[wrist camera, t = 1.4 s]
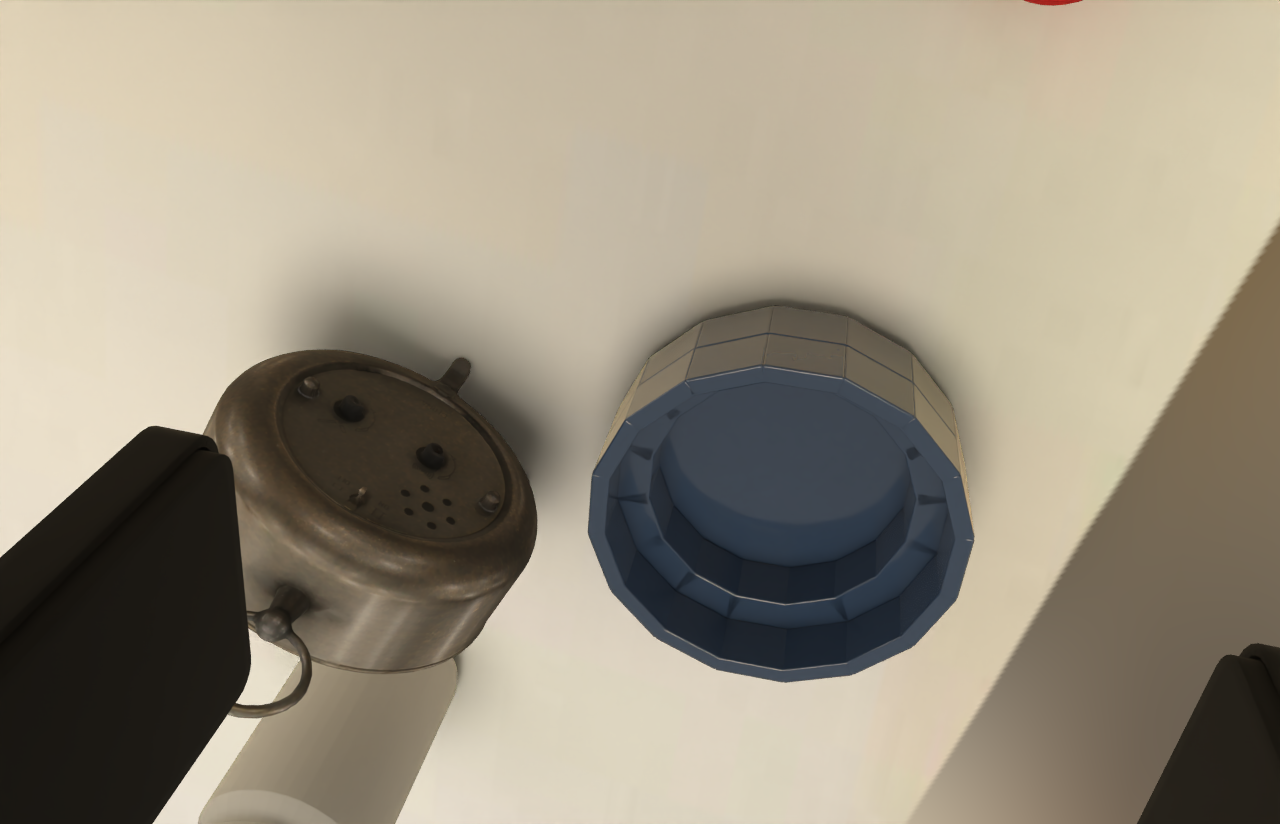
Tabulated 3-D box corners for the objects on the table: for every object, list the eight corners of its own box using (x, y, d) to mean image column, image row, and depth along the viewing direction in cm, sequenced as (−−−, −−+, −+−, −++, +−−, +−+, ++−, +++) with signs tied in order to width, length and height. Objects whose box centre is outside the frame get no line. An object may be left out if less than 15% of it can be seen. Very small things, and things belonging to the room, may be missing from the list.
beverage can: (492, 660, 48) (388, 902, 38) (408, 728, 51) (290, 968, 41) (376, 568, 46) (234, 793, 36) (296, 643, 49) (145, 870, 39)
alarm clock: (284, 372, 42) (-3, 662, 29) (338, 264, 40) (49, 526, 26) (530, 521, 44) (369, 867, 30) (597, 426, 41) (455, 757, 27)
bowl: (565, 493, 43) (531, 573, 39) (720, 235, 37) (699, 296, 32) (838, 639, 44) (834, 733, 40) (1034, 413, 38) (1054, 494, 33)
